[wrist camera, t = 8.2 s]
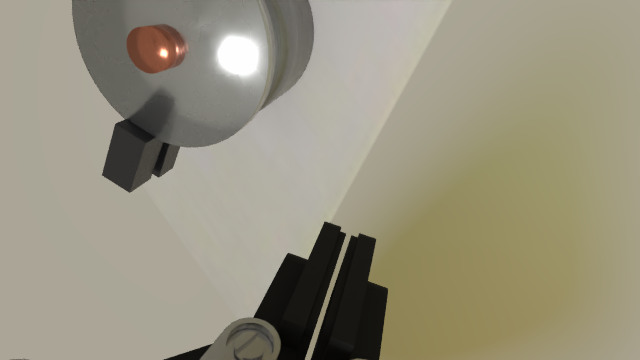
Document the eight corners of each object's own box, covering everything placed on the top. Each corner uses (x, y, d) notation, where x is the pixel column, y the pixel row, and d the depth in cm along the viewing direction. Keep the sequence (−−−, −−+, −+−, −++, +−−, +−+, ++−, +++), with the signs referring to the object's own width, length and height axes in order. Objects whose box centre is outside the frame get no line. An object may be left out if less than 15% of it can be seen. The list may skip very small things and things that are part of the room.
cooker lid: (110, -132, 26) (61, -151, 22) (313, 2, 26) (296, 4, 23) (65, 124, 37) (28, 138, 33) (208, 215, 37) (186, 238, 34)
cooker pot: (212, -132, 35) (120, -183, 24) (359, -41, 35) (330, -54, 25) (150, 99, 48) (73, 130, 37) (258, 164, 48) (211, 213, 38)
